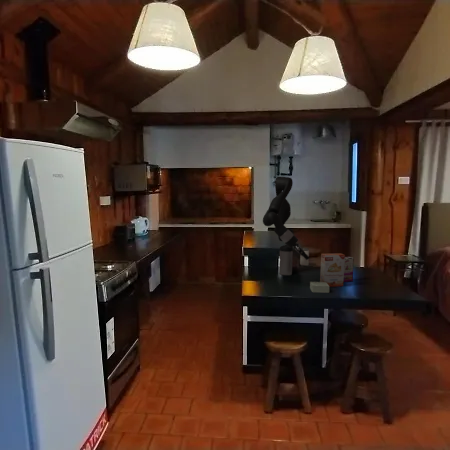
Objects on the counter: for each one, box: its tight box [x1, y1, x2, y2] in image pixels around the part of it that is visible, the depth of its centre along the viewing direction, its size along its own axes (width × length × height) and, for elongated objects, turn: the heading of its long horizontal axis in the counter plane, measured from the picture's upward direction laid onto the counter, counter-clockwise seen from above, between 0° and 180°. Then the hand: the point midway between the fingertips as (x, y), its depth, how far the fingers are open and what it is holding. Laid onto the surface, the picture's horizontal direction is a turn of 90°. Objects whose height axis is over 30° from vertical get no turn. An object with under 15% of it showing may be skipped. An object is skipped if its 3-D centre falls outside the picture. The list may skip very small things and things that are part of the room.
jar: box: [299, 247, 310, 266], centre depth 239 cm, size 5×5×10 cm
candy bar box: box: [343, 256, 355, 283], centre depth 262 cm, size 11×5×16 cm, turn 112°
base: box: [309, 281, 330, 294], centre depth 239 cm, size 10×10×4 cm
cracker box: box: [319, 253, 346, 288], centre depth 249 cm, size 14×6×21 cm, turn 101°
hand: (307, 257), depth 239 cm, fingers closed on jar, 5 cm apart
